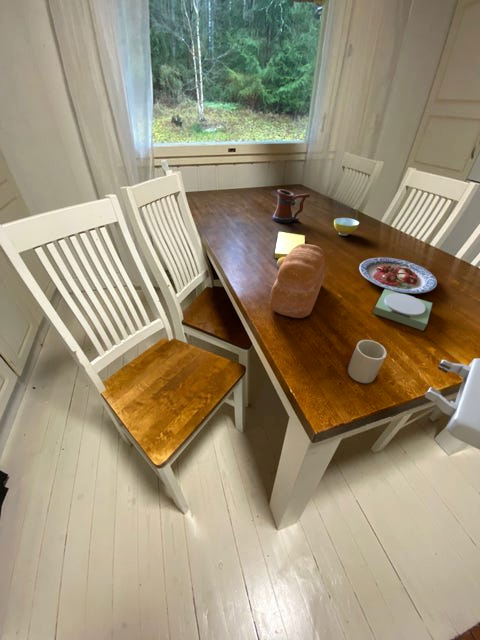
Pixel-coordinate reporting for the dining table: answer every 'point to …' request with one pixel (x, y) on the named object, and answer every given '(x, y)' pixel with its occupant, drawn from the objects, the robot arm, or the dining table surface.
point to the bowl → (345, 225)
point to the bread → (298, 281)
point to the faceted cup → (366, 361)
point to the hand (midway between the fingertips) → (433, 376)
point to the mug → (287, 206)
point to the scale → (403, 309)
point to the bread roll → (280, 262)
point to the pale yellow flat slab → (287, 243)
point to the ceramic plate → (398, 275)
